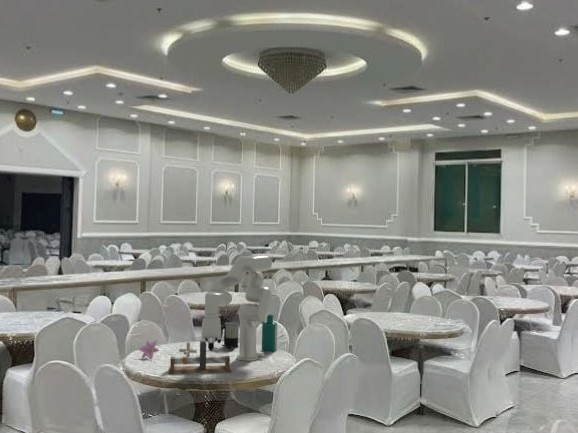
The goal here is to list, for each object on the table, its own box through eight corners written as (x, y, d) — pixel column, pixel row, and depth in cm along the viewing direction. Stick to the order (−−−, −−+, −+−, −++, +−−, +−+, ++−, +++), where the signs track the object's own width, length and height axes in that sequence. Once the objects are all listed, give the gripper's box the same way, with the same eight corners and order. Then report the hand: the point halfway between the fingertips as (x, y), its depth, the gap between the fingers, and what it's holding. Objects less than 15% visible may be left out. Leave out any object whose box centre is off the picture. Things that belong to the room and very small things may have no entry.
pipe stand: (229, 367, 334) (229, 353, 334) (230, 372, 324) (231, 358, 324) (169, 368, 329) (169, 354, 329) (169, 373, 318) (169, 359, 318)
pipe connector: (193, 362, 343) (193, 344, 343) (176, 361, 345) (176, 343, 345) (199, 358, 353) (199, 341, 353) (182, 357, 355) (183, 339, 355)
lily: (136, 358, 355) (134, 345, 350) (153, 347, 362) (151, 335, 357) (148, 367, 347) (146, 355, 343) (165, 357, 355) (163, 344, 350)
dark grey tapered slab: (205, 365, 330) (205, 340, 330) (205, 369, 323) (206, 343, 323) (199, 366, 330) (200, 340, 330) (200, 369, 322) (200, 343, 322)
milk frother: (234, 344, 391) (235, 321, 391) (246, 349, 377) (246, 325, 377) (214, 346, 384) (214, 323, 384) (225, 352, 370) (225, 327, 370)
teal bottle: (277, 349, 380) (278, 314, 380) (274, 352, 372) (275, 316, 372) (262, 348, 382) (263, 313, 382) (258, 351, 374) (259, 315, 374)
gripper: (225, 314, 332) (224, 348, 332) (197, 314, 329) (196, 348, 329) (226, 317, 325) (225, 351, 325) (197, 317, 322) (197, 352, 322)
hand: (210, 350), depth 327 cm, fingers closed
